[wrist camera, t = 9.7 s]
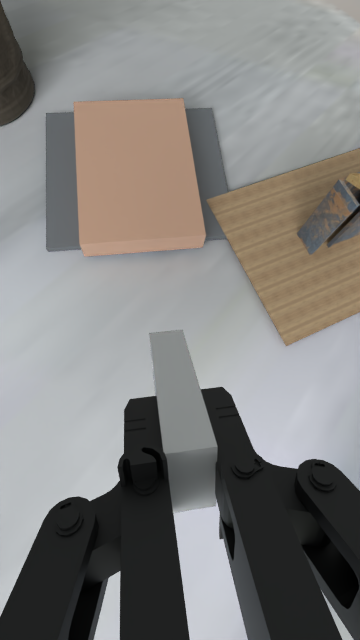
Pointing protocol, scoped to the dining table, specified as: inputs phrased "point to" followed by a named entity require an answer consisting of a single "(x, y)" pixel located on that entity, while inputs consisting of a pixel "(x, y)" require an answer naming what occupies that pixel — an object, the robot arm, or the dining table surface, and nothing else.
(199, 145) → the mat
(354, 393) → the dining table surface
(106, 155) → the tile
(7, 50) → the beer stein
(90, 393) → the dining table surface
